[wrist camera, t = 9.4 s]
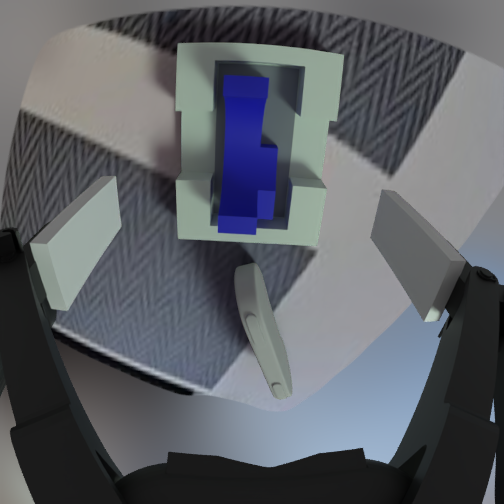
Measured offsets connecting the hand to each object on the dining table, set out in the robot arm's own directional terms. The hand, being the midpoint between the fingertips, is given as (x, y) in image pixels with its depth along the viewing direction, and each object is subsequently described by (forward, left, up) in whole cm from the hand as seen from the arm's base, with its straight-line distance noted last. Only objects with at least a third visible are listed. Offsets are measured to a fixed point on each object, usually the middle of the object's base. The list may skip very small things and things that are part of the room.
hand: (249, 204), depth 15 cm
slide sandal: (+3, -21, -16) cm, 26 cm away
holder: (0, 0, -15) cm, 15 cm away
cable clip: (0, 0, -14) cm, 14 cm away
